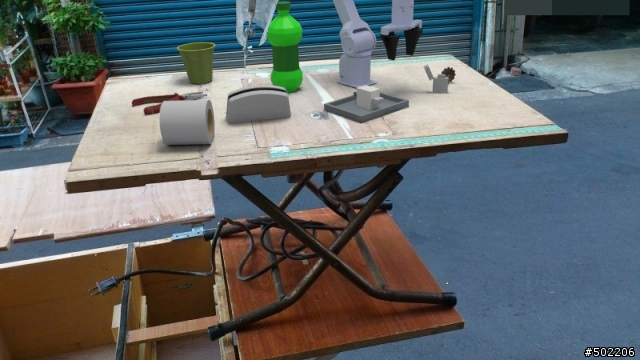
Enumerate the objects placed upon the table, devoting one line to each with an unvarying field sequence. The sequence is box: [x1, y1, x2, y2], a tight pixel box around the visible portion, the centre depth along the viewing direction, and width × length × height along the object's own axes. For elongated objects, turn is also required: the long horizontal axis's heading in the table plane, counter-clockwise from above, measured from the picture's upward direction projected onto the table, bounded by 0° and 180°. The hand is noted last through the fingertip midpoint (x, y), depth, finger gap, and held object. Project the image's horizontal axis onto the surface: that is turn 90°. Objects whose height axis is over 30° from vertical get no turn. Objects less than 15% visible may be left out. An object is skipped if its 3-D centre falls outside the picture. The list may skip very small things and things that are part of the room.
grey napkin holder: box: [225, 84, 292, 124], centre depth 137 cm, size 17×5×10 cm, turn 103°
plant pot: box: [176, 41, 216, 85], centre depth 168 cm, size 12×12×11 cm
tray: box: [323, 91, 410, 124], centre depth 143 cm, size 14×18×2 cm
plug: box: [353, 85, 384, 110], centre depth 142 cm, size 9×4×5 cm, turn 41°
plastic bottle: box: [266, 0, 304, 93], centre depth 155 cm, size 10×10×25 cm
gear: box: [440, 66, 457, 84], centre depth 161 cm, size 5×1×5 cm, turn 108°
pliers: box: [131, 91, 208, 116], centre depth 151 cm, size 12×20×3 cm, turn 127°
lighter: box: [423, 64, 449, 94], centre depth 153 cm, size 7×2×8 cm, turn 85°
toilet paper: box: [159, 99, 216, 146], centre depth 122 cm, size 10×10×10 cm
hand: (400, 57), depth 150 cm, fingers open, 7 cm apart
